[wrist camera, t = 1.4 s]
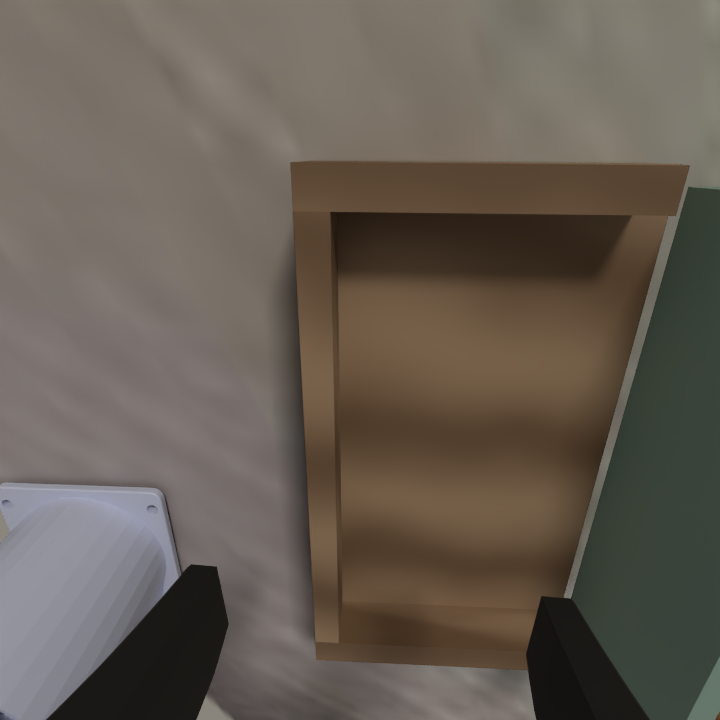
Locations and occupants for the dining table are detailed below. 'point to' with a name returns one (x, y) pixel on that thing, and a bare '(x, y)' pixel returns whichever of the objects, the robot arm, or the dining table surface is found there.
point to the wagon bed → (461, 388)
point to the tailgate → (666, 494)
